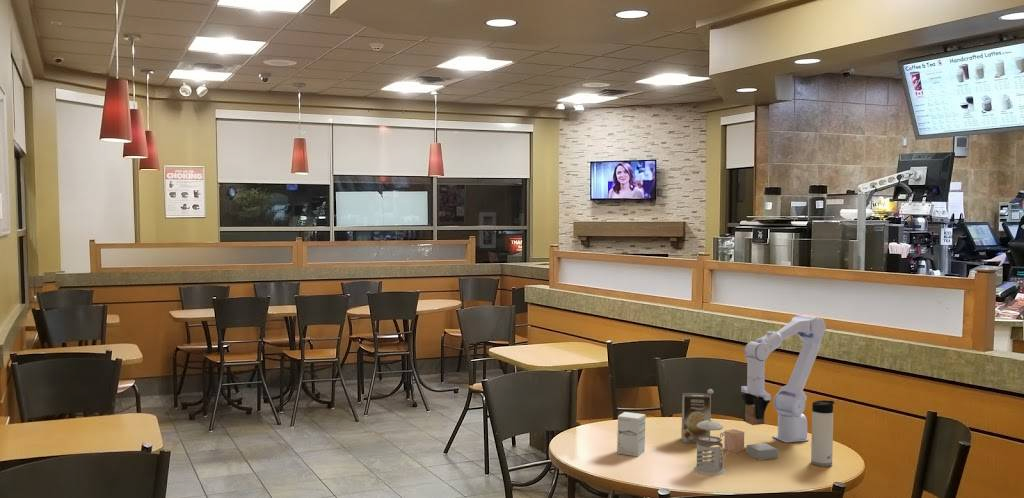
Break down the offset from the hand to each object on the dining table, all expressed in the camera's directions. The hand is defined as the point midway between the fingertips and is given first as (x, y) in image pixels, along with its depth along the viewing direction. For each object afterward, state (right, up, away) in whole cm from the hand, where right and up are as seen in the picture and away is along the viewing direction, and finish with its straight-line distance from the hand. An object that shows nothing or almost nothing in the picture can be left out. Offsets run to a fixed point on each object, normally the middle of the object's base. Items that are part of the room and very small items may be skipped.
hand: (755, 417), depth 288 cm
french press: (-22, -11, -29) cm, 38 cm away
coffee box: (-19, -9, +5) cm, 22 cm away
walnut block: (0, -2, 0) cm, 2 cm away
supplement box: (-44, -10, -10) cm, 46 cm away
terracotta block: (-8, -10, -5) cm, 14 cm away
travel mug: (+15, -11, -22) cm, 28 cm away
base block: (-2, -10, -13) cm, 17 cm away
